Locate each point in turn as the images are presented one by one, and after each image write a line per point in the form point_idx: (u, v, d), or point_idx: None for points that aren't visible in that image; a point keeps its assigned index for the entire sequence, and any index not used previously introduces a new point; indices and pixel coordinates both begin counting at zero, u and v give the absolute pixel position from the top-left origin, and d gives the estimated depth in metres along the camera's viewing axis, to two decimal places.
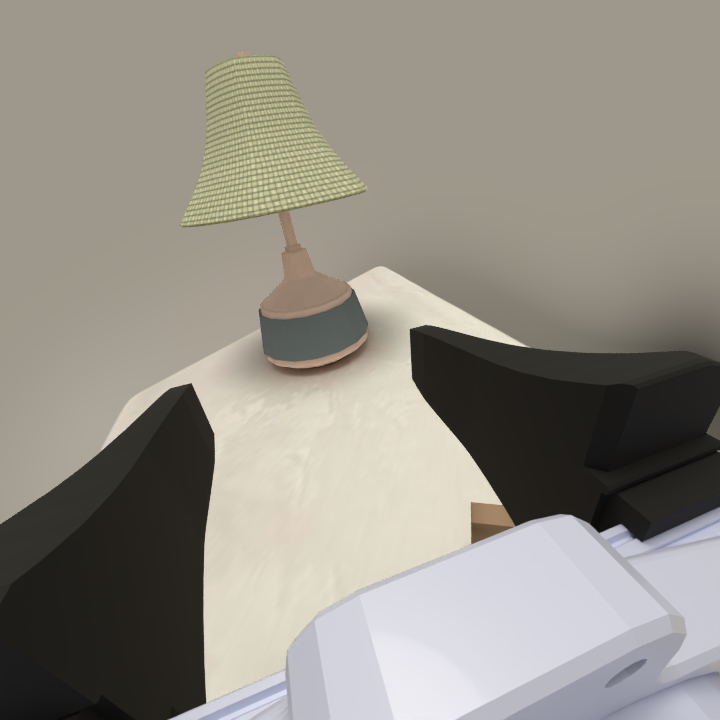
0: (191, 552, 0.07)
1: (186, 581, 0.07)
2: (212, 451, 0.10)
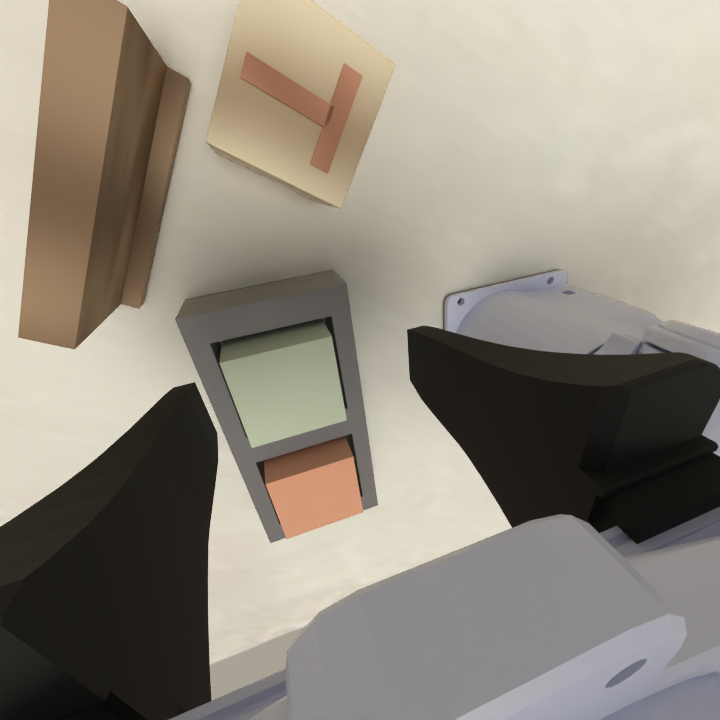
0: (196, 550, 0.07)
1: (191, 579, 0.07)
2: (215, 450, 0.10)
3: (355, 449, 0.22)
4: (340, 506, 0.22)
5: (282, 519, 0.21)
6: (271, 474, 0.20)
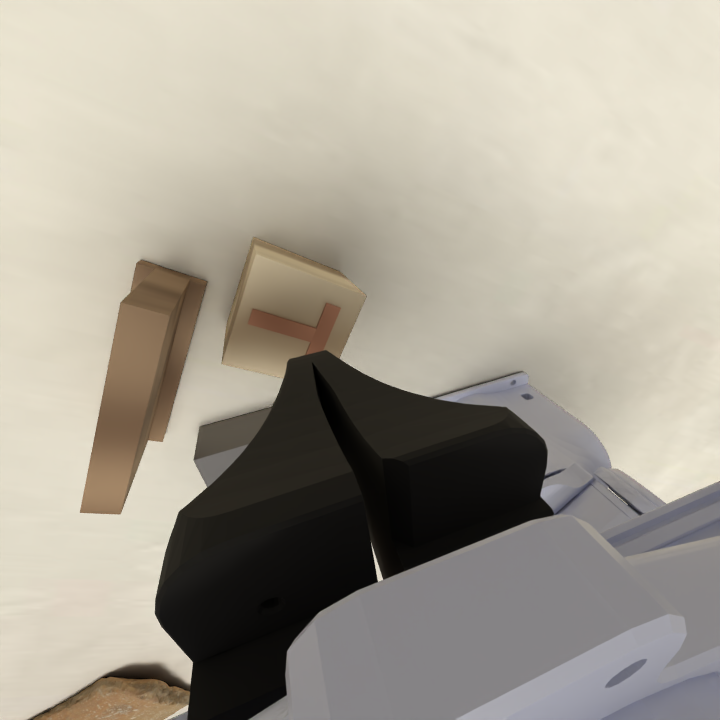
0: None
1: None
2: None
3: None
4: None
5: None
6: None
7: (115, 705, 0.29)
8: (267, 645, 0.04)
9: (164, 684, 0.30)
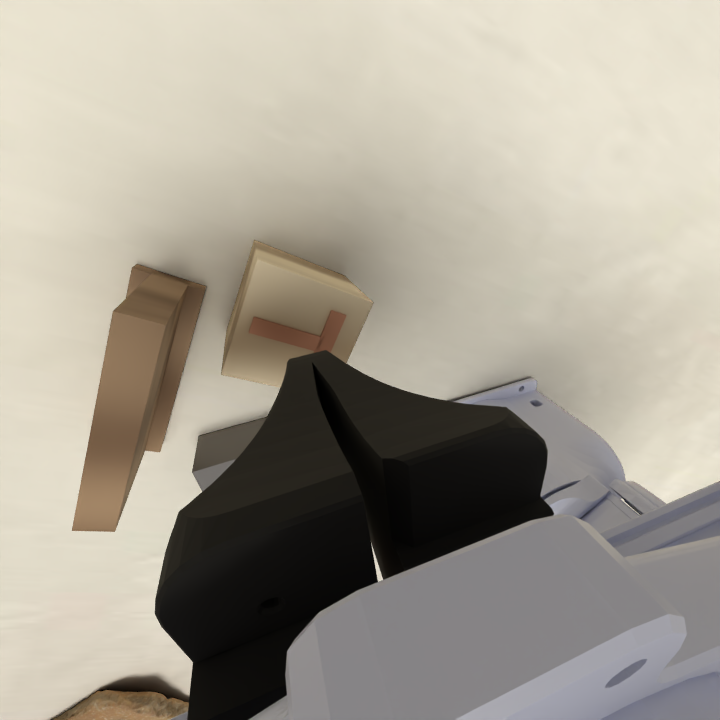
0: None
1: None
2: None
3: None
4: None
5: None
6: None
7: (112, 719, 0.28)
8: (267, 645, 0.04)
9: (162, 696, 0.30)
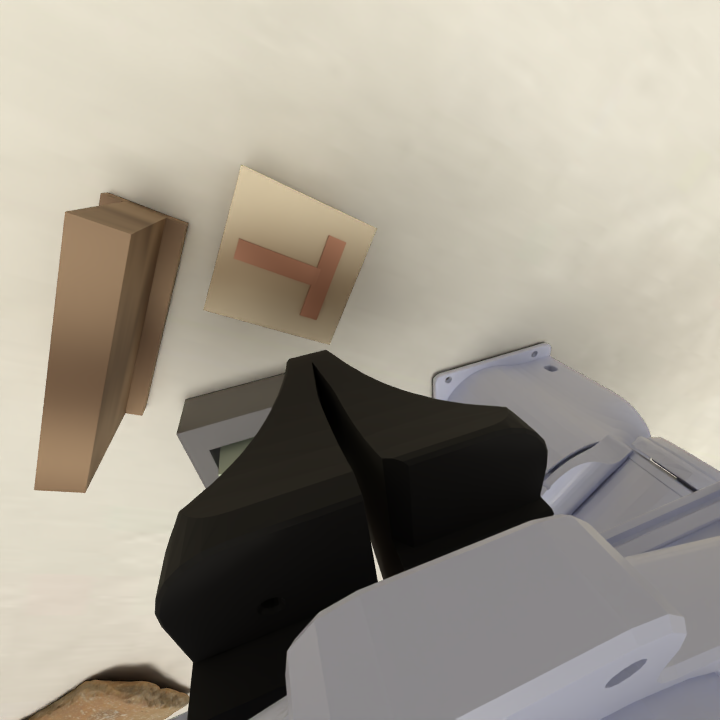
0: None
1: None
2: None
3: None
4: None
5: None
6: None
7: (100, 710, 0.26)
8: (267, 645, 0.04)
9: (154, 686, 0.28)
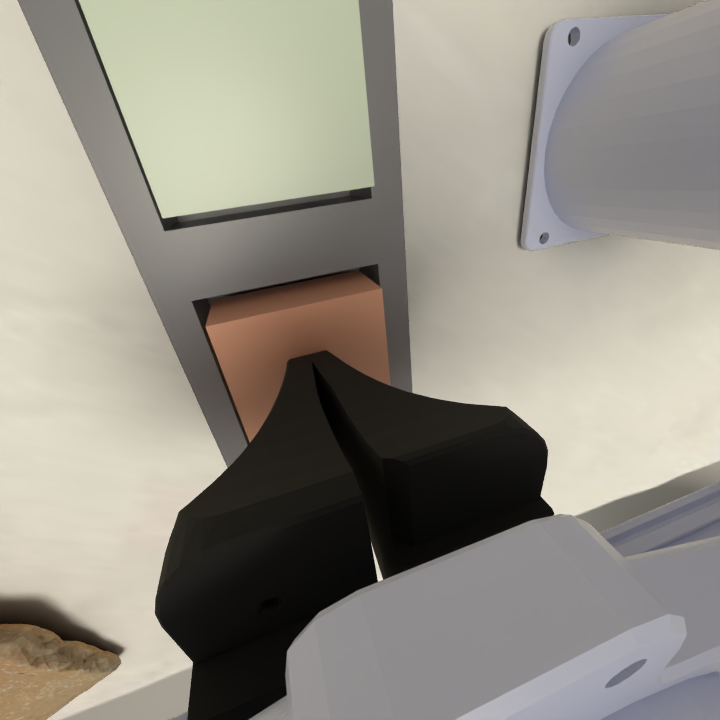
0: None
1: None
2: None
3: None
4: None
5: (246, 417, 0.11)
6: (220, 316, 0.10)
7: None
8: (267, 645, 0.04)
9: (48, 634, 0.17)
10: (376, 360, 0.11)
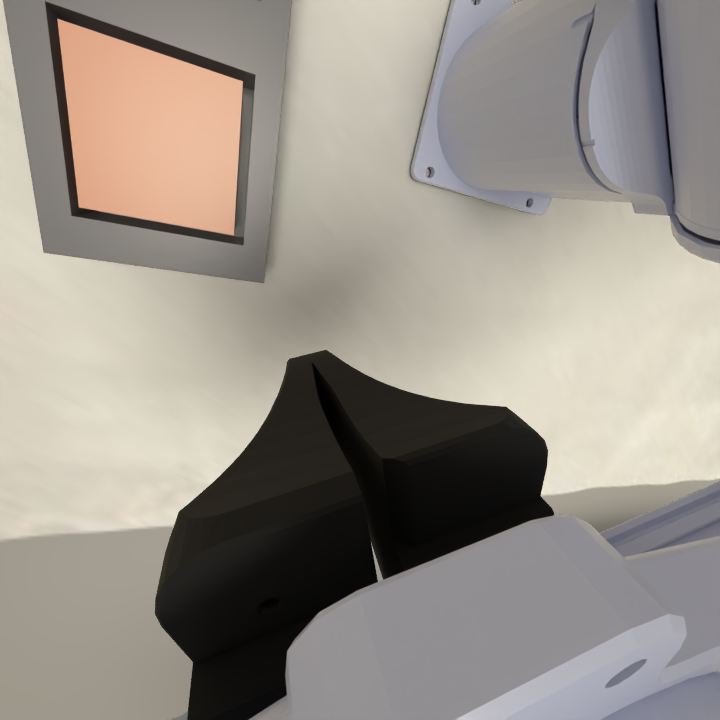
0: None
1: None
2: None
3: (253, 122, 0.13)
4: (197, 193, 0.13)
5: (78, 147, 0.11)
6: None
7: None
8: (267, 645, 0.04)
9: None
10: (226, 157, 0.13)
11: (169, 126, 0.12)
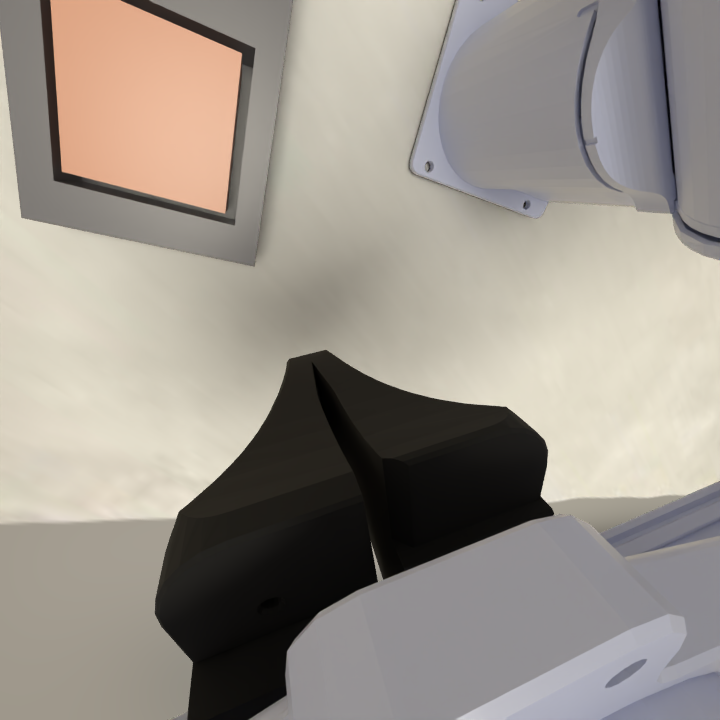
0: None
1: None
2: None
3: (251, 97, 0.12)
4: (189, 166, 0.12)
5: (64, 107, 0.11)
6: None
7: None
8: (267, 645, 0.04)
9: None
10: (220, 130, 0.12)
11: (162, 93, 0.11)
